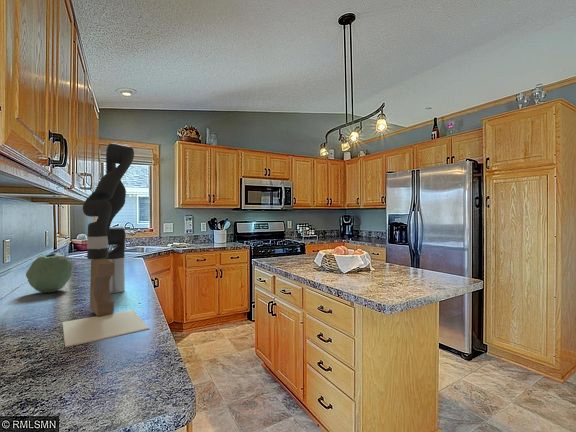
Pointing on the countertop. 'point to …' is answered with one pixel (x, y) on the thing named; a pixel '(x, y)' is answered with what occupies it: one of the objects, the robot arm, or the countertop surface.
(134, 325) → the sand mat
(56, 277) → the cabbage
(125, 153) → the robot arm
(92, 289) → the decorative block
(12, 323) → the countertop surface
